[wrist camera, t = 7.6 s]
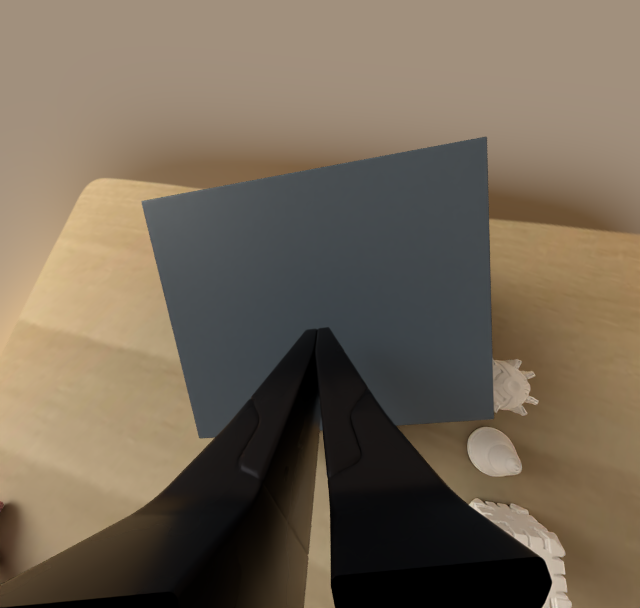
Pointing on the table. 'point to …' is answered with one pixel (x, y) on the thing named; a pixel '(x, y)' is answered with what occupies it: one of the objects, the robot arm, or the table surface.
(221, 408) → the bin lid
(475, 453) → the game pieces
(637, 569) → the table surface
